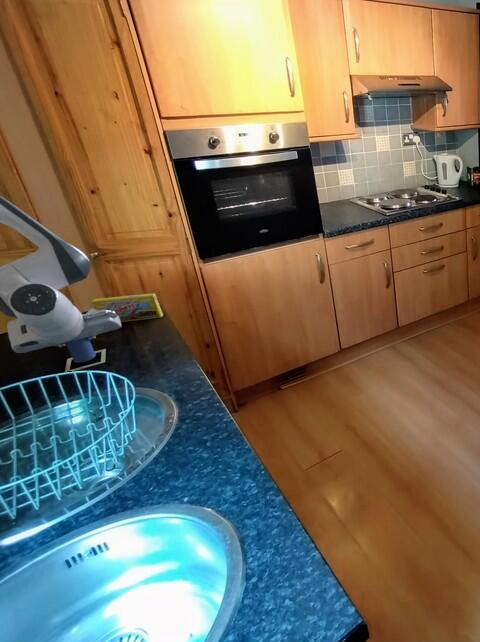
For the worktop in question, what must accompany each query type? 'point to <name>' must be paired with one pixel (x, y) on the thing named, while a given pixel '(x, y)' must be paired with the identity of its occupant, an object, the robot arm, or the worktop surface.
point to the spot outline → (87, 365)
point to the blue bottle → (81, 350)
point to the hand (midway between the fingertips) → (77, 340)
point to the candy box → (131, 306)
